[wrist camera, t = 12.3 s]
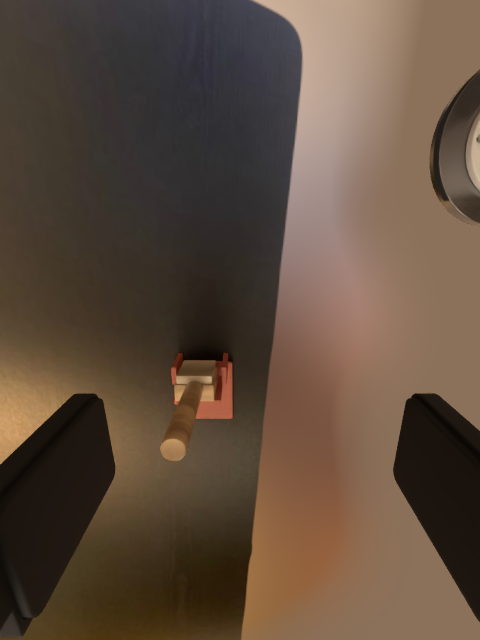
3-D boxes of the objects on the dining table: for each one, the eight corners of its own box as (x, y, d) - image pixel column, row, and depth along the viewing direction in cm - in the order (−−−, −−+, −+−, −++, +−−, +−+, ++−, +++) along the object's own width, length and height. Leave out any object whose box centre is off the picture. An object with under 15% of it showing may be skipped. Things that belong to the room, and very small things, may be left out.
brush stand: (174, 352, 39) (161, 375, 33) (232, 352, 39) (230, 376, 33) (178, 416, 42) (167, 448, 36) (232, 416, 42) (231, 448, 36)
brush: (142, 432, 21) (145, 466, 22) (201, 432, 21) (202, 466, 22) (182, 359, 36) (184, 381, 37) (217, 359, 36) (217, 381, 37)
